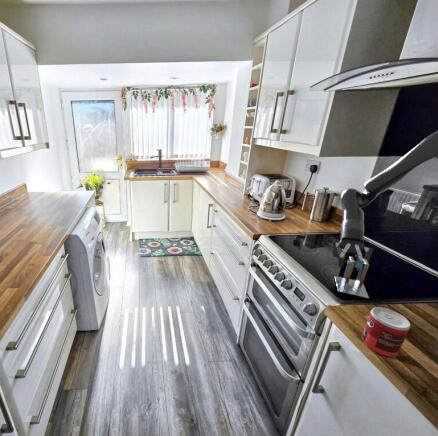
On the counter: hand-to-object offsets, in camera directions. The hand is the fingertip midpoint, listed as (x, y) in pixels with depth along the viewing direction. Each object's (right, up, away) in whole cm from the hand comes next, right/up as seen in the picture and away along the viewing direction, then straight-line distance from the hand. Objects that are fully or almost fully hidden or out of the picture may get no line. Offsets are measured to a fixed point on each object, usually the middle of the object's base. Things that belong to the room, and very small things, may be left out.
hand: (349, 268), depth 98 cm
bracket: (-3, -7, -4) cm, 9 cm away
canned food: (-16, -17, -28) cm, 36 cm away
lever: (-2, +2, -4) cm, 5 cm away
